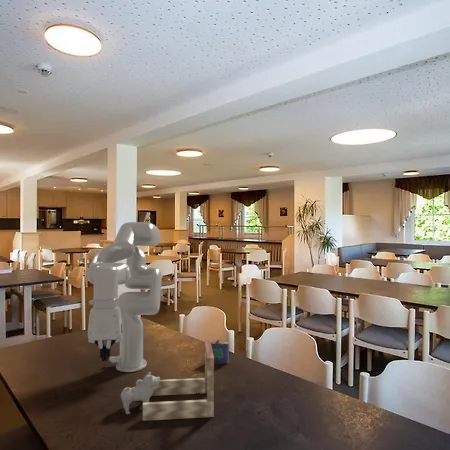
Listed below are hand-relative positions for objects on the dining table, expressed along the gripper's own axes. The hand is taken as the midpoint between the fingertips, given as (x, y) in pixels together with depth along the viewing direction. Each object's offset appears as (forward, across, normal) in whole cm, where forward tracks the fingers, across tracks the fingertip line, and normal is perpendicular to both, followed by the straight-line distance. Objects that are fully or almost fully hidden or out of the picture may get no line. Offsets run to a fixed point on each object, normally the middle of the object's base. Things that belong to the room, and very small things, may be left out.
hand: (105, 359), depth 113 cm
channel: (+16, +24, +1) cm, 29 cm away
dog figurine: (+17, +11, +1) cm, 20 cm away
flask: (+16, +40, +34) cm, 55 cm away
